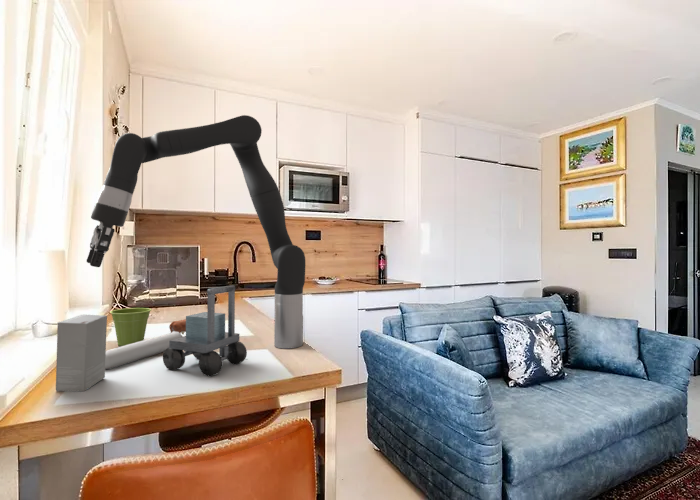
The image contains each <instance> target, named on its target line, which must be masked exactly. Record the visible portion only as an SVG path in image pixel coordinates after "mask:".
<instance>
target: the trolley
mask: <svg viewBox="0 0 700 500" xmlns="http://www.w3.org/2000/svg"><path fill="white" fill-rule="evenodd" d="M206 293H207V311H201V312H198V313H194V314H190V315H186V316H185V319H186V332H185V335H184V336H183V335H182V336H183V337H180V338H176V339H173V340H170V341H169V348H167V349H166V350H165V351H164V352H162V353H163V354H162V362H163V365H164V366H165V367H166V369H168V370H170V371H176V370H179V369H181V368H183V366H184V365H185V362H186V357H187V356H191V355H193V357H194V358H195V359H197V360H198V367H199V370H200V372H201V373H202V374H203V375H205V376H206V377H213V376H216V375H217V374H219V373H220V372H221V371H222V369H223V361H225V360H227V362H228V363H230V364H232V365H238V364H241V363H243V362H244V361H245V360H246V358H247V355H248V351H247V347H246V346H245V344H243V342H241V341H240V333H239V332H238V333H236V332H235V330H236V329H235V328H236V327H235V324H236V322H235V319H236V317H235V316H236V315H235V310H236V308H235V307H236V305H235V304H236V303H235V301H236V296H235V295H236V294H235V293H236V286H235V285H233V284H232V285H226V286H219V287H212V288H208V289H207V290H206ZM223 293H227V294H228V297H227V298H228V299H227V300H228V301H227V302H228V304H227V307H228V308H227V311H228V312H227V316H228V317H227V319H228V321H227V325H228V326H227V327H228V328H227V331H228V332H227V331H226V313H223V312H215V311H216V310H215V307H216V306H215V305H216V301H215V298H216V296H215V295H217V294H223ZM216 350H219V351H218V352H219V353H218V352H217V351H216Z"/></svg>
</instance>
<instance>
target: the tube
mask: <svg viewBox="0 0 700 500" xmlns="http://www.w3.org/2000/svg"><path fill="white" fill-rule="evenodd" d="M180 337H183V334H182V333H181V334H180V333H179V332H176V331H173V332H172V333H171V332H168V333H165V334H161V335H158V336H154V337H151V338H147V339H144V340H143V341H139V342H136V343H132V344H128V345H125V346H118V347H115V348H111V349H108V350H107V349H106V357H105V370H110V369H115V368H116V367H120V366H123V365H126V364H130V363H133V362H136V361H139V360H142V359H145V358H146V359H147V358H148V357H151V356H155V355H158V354H161V353H164V351H165V350H166V349H167V348H169V341H170V340H173V339H176V338H180Z"/></svg>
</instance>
